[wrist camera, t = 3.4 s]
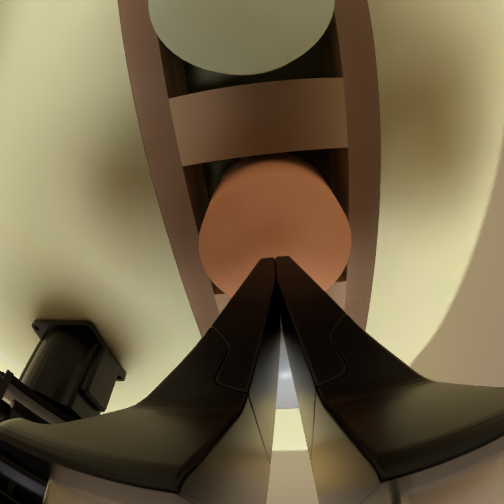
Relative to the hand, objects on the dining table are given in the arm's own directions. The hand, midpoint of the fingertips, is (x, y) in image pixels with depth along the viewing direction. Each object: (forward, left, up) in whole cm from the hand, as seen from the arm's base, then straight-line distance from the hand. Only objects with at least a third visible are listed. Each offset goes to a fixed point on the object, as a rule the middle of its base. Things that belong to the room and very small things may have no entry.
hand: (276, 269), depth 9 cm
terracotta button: (0, 0, -4) cm, 4 cm away
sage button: (0, +8, -4) cm, 9 cm away
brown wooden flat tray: (0, 0, -6) cm, 6 cm away
